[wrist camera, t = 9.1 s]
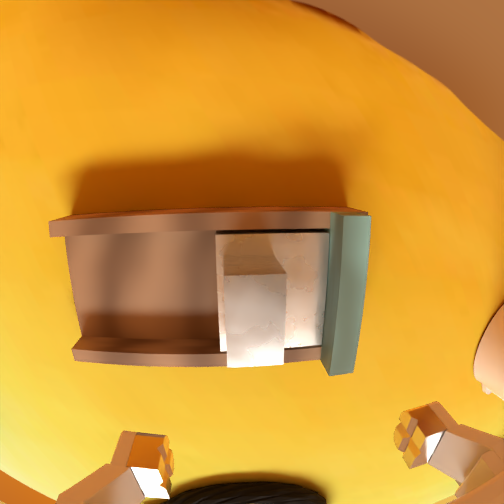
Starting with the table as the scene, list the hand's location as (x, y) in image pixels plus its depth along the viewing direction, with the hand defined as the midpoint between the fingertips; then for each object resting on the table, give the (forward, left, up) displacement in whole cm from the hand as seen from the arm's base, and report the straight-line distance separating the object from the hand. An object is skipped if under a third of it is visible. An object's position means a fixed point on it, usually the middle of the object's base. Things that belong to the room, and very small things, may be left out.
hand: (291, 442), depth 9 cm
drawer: (+3, 0, -18) cm, 18 cm away
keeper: (-1, 0, -16) cm, 16 cm away
